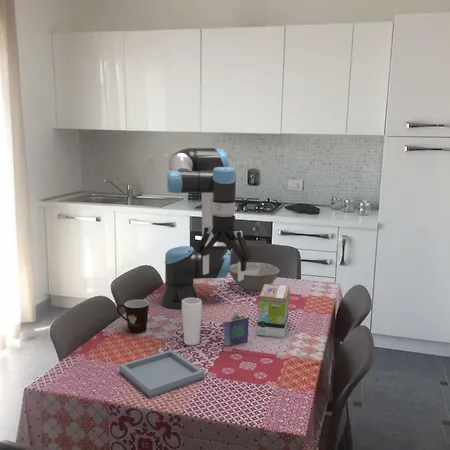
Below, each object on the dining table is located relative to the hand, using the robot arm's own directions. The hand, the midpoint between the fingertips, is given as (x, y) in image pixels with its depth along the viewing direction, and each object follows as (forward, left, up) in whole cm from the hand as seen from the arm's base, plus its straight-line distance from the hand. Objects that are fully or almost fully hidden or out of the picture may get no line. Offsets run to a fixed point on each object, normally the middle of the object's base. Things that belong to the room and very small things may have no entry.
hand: (222, 276), depth 169 cm
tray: (+10, -30, -23) cm, 39 cm away
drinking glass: (-4, -10, -23) cm, 25 cm away
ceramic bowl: (-36, +45, -23) cm, 62 cm away
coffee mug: (-26, -20, -23) cm, 40 cm away
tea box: (+3, +21, -23) cm, 31 cm away
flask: (+5, +2, -23) cm, 23 cm away
